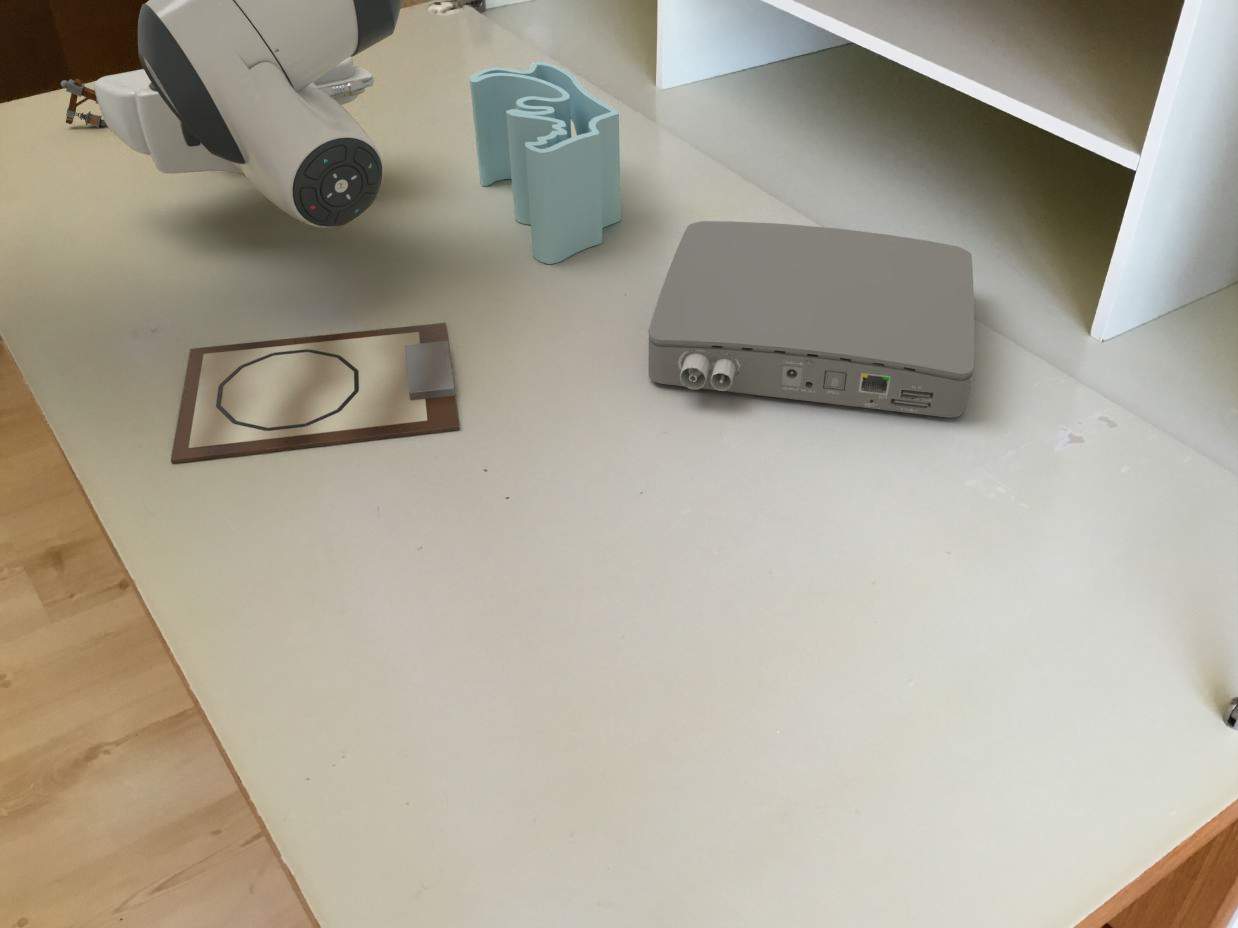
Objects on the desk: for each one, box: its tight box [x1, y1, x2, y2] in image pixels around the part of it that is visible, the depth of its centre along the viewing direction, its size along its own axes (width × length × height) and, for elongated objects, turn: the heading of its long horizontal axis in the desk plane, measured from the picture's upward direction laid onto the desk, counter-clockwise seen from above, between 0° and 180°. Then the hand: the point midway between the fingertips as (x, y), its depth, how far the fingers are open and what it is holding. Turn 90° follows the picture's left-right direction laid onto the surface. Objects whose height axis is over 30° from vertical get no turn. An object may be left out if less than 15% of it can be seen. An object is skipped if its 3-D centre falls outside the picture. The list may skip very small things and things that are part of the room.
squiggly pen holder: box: [469, 61, 622, 265], centre depth 96 cm, size 18×10×9 cm, turn 31°
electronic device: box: [647, 220, 975, 418], centre depth 82 cm, size 19×22×5 cm
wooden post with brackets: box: [60, 78, 107, 129], centre depth 110 cm, size 2×8×4 cm, turn 99°
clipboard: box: [170, 322, 461, 464], centre depth 78 cm, size 18×13×1 cm
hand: (202, 58), depth 99 cm, fingers closed on marker, 3 cm apart
